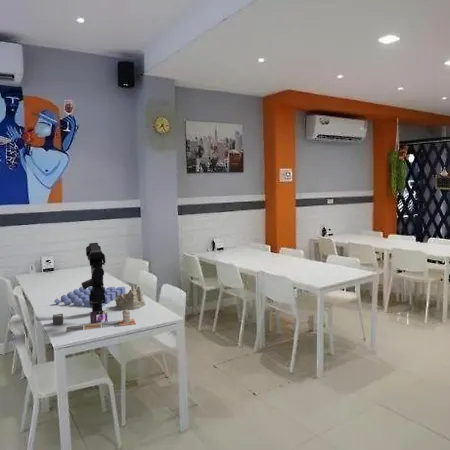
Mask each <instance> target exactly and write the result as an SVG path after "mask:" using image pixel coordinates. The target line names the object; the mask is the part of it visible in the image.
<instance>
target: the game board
mask: <svg viewBox="0 0 450 450" xmlns="http://www.w3.org/2000/svg"><path fill="white" fill-rule="evenodd" d="M122 320H123V319H121V320H113V321H112V320H111V321H108V322H107V321H106V322H104V321H103V322H97V323H94V324H91V323H87V324H79V325H69V326H66V327H65V328H66V330H65V332H66V333H68V332H78V331H84V330H85V331H86V330H95V329H101V328H111V327H114V328H116V327H123V326H130V325H131V326H132V325H136V321H135V318H130V320H131V322H130V323H122Z"/></svg>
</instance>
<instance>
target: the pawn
mask: <svg viewBox="0 0 450 450" xmlns="http://www.w3.org/2000/svg"><path fill="white" fill-rule="evenodd" d="M130 311H131V310H127V309H126V310H122V319H121V320H122V323H130V322H131V320H130V319H131V312H130Z"/></svg>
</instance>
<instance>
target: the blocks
mask: <svg viewBox="0 0 450 450" xmlns="http://www.w3.org/2000/svg"><path fill="white" fill-rule="evenodd" d="M103 287H104V288H105V294H104V295H105V303H102V308H103V307H104V306H105V305H108V304H110V303H111V302H113V301H115V299H116V297H117V295H119V296H120V293H122V295H123V294H125V293H126V286H117V287H115V286H108V287H105V286H103ZM91 289H92V286H91V287H89V288H87V289H85V290H84V289H83V287H82V286H80V287H79V288H76V289H74V290H73V291H69V292H68V293H66V294H62V295H61V296H60V299H59V298H56V299H55V300H54V301H53V302H54V303H55V305H57V306H59V305H60V303H61V302H63V303H64V305H65V306H67V305H68V306H70V305H71V304H72V303H73V305H74V307H81V306H83V307H84V308H90V307H91V308H92V305H90V304H89V295H90V291H91ZM102 301H103V300H102ZM91 302H92V301H91Z"/></svg>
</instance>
